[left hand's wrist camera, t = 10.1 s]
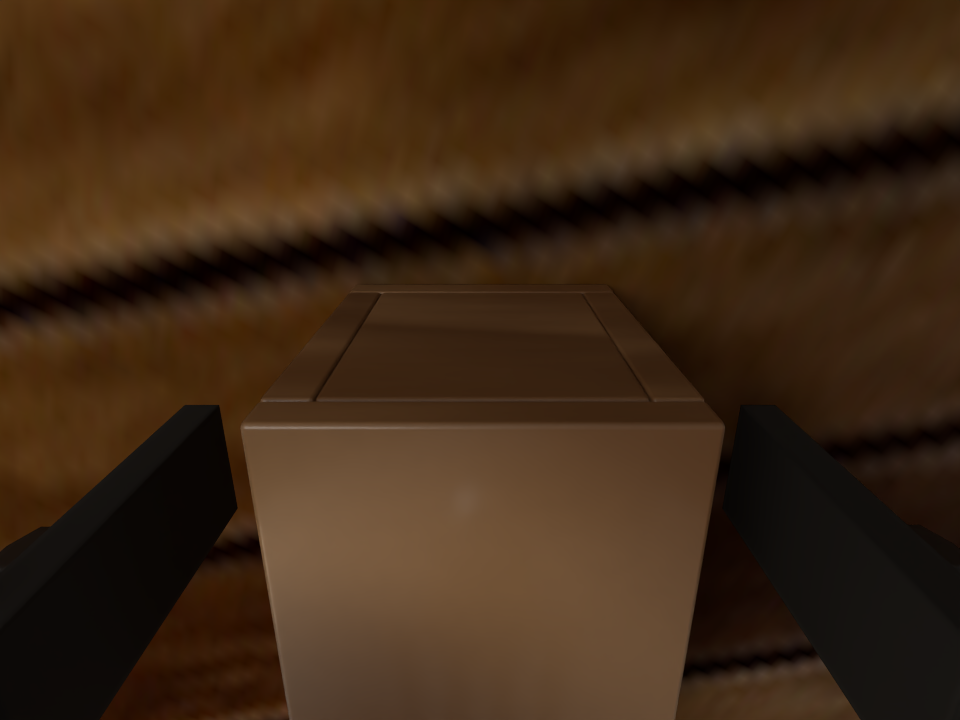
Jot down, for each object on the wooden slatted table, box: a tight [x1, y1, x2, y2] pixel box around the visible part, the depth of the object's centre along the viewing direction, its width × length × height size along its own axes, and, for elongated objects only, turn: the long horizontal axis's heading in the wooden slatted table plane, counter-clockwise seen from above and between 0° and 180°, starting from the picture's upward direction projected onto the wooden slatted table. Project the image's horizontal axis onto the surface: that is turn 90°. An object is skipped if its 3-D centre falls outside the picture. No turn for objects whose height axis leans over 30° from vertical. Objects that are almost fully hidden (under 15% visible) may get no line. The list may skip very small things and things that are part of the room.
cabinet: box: [241, 285, 725, 720], centre depth 14 cm, size 16×7×8 cm, turn 0°
